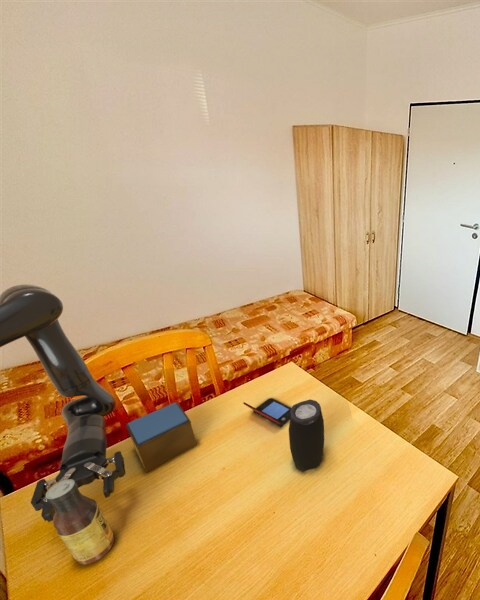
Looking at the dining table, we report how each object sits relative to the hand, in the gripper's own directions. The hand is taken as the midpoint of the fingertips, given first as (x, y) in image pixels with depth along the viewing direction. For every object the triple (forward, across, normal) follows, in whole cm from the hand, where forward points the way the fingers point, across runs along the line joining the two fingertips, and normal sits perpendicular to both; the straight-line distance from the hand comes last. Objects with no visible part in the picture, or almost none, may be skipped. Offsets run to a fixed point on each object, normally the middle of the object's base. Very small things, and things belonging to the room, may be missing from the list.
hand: (79, 506), depth 65 cm
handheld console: (-15, +42, +12) cm, 46 cm away
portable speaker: (+7, +46, +12) cm, 48 cm away
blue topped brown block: (-19, +14, +12) cm, 26 cm away
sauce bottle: (+2, 0, +12) cm, 12 cm away
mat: (-19, +14, +2) cm, 24 cm away
